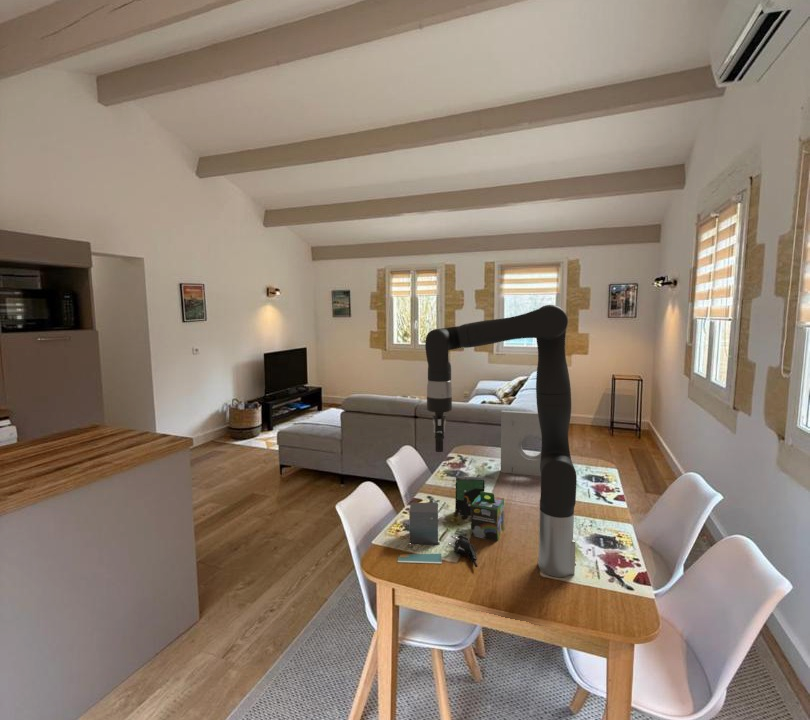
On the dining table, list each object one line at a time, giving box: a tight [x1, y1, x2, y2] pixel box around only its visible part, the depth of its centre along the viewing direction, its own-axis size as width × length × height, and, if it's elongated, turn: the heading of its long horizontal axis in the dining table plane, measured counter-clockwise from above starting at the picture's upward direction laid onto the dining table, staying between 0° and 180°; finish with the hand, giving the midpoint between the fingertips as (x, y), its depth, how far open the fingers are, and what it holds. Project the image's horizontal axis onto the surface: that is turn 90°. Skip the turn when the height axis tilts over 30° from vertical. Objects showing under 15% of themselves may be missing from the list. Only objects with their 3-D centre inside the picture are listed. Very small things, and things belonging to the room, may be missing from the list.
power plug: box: [447, 534, 478, 568], centre depth 130 cm, size 6×8×12 cm
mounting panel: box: [500, 410, 542, 477], centre depth 192 cm, size 27×5×30 cm, turn 73°
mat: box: [397, 553, 443, 565], centre depth 133 cm, size 13×9×1 cm
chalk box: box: [470, 491, 505, 542], centre depth 145 cm, size 9×9×15 cm
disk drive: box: [454, 475, 486, 517], centre depth 157 cm, size 10×3×15 cm, turn 78°
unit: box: [408, 502, 441, 546], centre depth 142 cm, size 10×8×11 cm
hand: (439, 447), depth 133 cm, fingers open, 8 cm apart
